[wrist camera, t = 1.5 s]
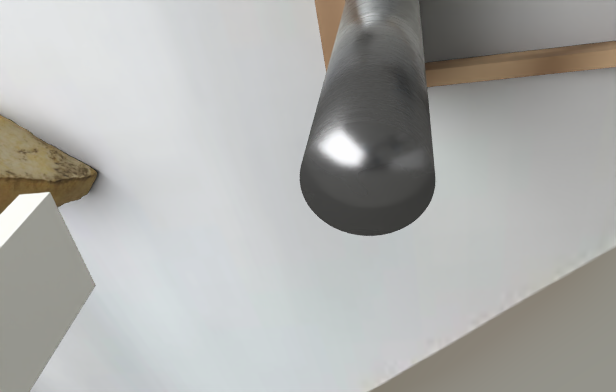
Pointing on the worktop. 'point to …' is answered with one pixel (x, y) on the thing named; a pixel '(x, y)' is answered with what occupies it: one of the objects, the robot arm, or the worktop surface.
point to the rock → (38, 168)
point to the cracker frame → (484, 67)
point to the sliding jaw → (372, 123)
